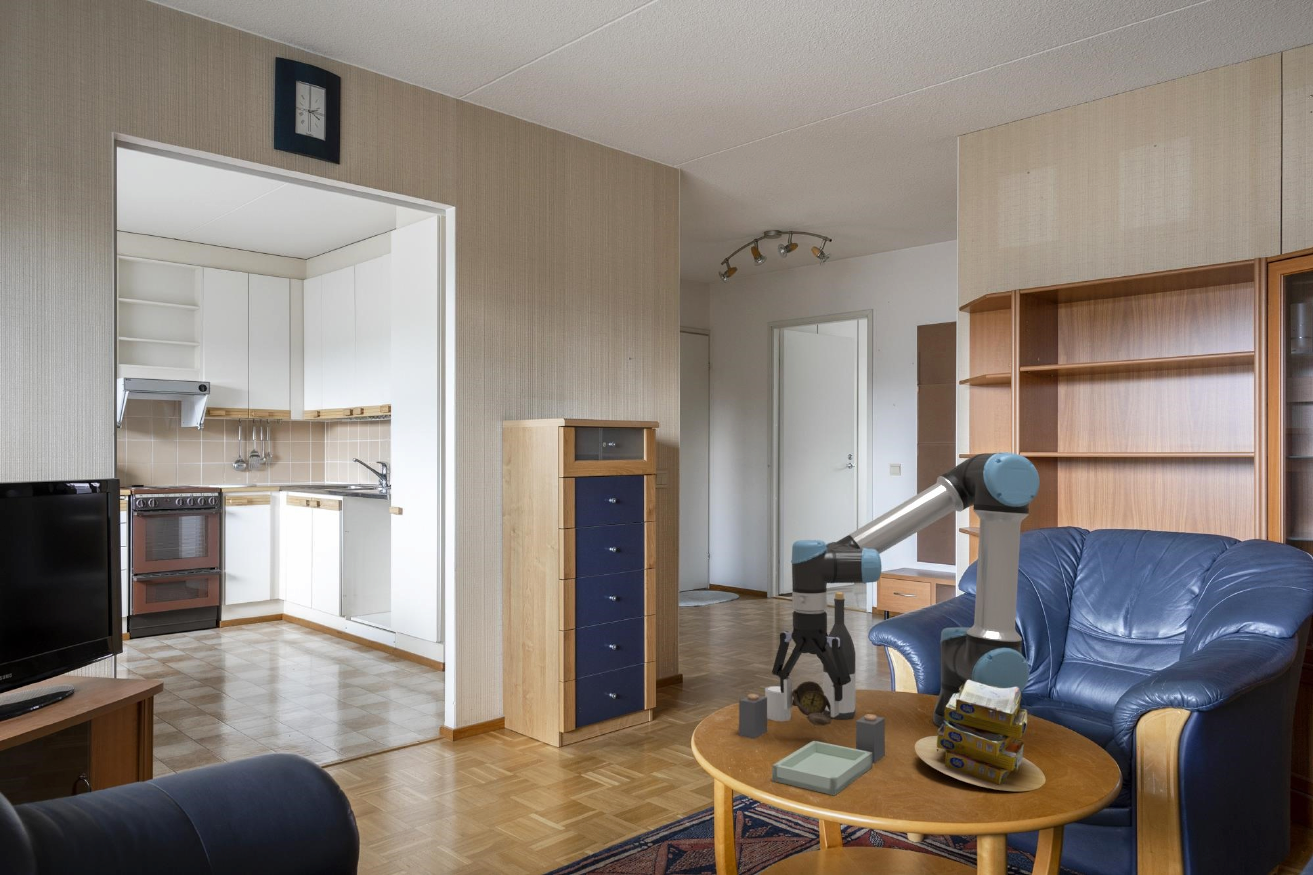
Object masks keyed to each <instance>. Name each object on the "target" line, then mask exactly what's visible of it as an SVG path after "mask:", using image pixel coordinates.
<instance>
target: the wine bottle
mask: <svg viewBox="0 0 1313 875" xmlns="http://www.w3.org/2000/svg"><path fill="white" fill-rule="evenodd" d="M844 597H845V596H844V592H840V591H839V592H835V593H834V599H833V600H834V624H833V626H832V628H831V630H830V632H829V633H828V636H829V637H834V638H836V637H840V638H841V648H842V652H843V655H844V658H845V662H846V665H847V668H848V671H849V675H850V678H851V682H849V683H847V684H845V685H843V686H842V694H843V698H842V700H841V701H839V715H837V716H835V717H831V716H830V719H834V720H850V719H854V718H855V716H856V649H855V645H854V644H855V643H854V641H853V639H852V636H851V634H850V631H848V629H847V626H846V625H845V598H844ZM825 647H826V649H827V650H828V652H829V656H830V658H831V660H832V662H833V663H834V665H835V667H836V669H837V666H836V663H835V659H834V656H833V653H832V647H830V644H829V643H827V644H826V645H825ZM822 666H823V665H822ZM837 671H838V669H837ZM822 673H823V674H822V678H823V679H822V681H823V682H822V684H823V685H822V687H823V688H822V690H823V692H824V695H825V696H826V697H827V699H828V701H829V703H830V705H831V702H830V686H832V685H834V684H833V682H832V681H831V679H830V677H829V675H828V673H827V671H826V669H825V668H824V666H823V668H822ZM829 712H830V711H829V709H828V707H827V706H826V708H825V710H824V711H823V712H822V713H823V714H827V713H829Z"/></svg>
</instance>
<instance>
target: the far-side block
mask: <svg viewBox="0 0 1313 875" xmlns="http://www.w3.org/2000/svg"><path fill="white" fill-rule="evenodd" d="M767 732H768V718H767V697H766V696H762V695H759V694H757V693H749V694H747V696H745V697H743V698H741V699H739V701H738V736H739V737H745V738H748V739H757V738H759V737H760V736H763V735H764V734H766V733H767ZM762 734H763V735H762Z"/></svg>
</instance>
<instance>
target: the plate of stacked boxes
mask: <svg viewBox="0 0 1313 875" xmlns="http://www.w3.org/2000/svg"><path fill="white" fill-rule="evenodd" d="M961 687H962V686H961ZM959 690H960V692H959V693H958V692H957V693H958V694H957V693H954V694H953V695H952V697H951V698H950V700H949V702H948V704H947V705H946V706H945V711H944V712H945V714H944V719H946V720H947V721H944V722H945V725H944V723H943V724H942V725H941V727H939V728H938V729H937V735H930V736H926V737H923V738H920V739H919V740H917V741H916V743H915V744H914V751H915V753H916V755H917V756H918V757H919V758H920V759H921V760H922V761H923V762H924V763H925V764H927V765H928V766H930V767H931V768H933V769H935V770H937V771H939V772H941V773H943V774H944V775H947V776H950V777H952V778H954V779H957V780H959V781H962V782H965V783H968V784H971V785H975V786H978V787H983V788H986V789H993V790H999V791H1007V792H1028V791H1029V792H1030V791H1034V790H1037V789H1039V788H1041V787H1043V785H1045V784H1046V776H1045V774H1044V772H1043V771H1042V769H1041V768H1039V767H1038V766H1037V765H1035V763H1034V762H1032V761H1029V760H1028V759H1027V758H1025V757H1024V756H1023V754H1024V748H1025V742H1023V741H1022V740H1021V739H1022V736H1024V735H1025V732H1026V730H1027V726H1028V710H1027V709H1023V708H1021V707H1020V704H1021V700H1022V691H1021V692H1020V691H1019V688H1018V687H1012V688H1000V687H996V686H991V685H986V684H982V683H978V682H974V681H971V680H967V681H966V683H965V684H964V685H963V689H961V688H960V689H959ZM1018 739H1019V740H1018Z"/></svg>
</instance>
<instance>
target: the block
mask: <svg viewBox="0 0 1313 875" xmlns="http://www.w3.org/2000/svg"><path fill="white" fill-rule="evenodd" d="M885 720H886V717H882V716H881V717H880V716H877V715H876V714H873V713H872V714H871V713H867V714H865V715H864V716H862V717H860V718H859V719H858V720H855V749H858V750H863V751H868V752H872V764H874V765H875V764H876V763H877V762H879V761H880V760H881V759H883V758H884V757H885V756H886V754H885V753H886V750H885V749H886V746H885V745H886V737H885V734H886V731H885V730H886V723H885V722H886V721H885Z"/></svg>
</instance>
